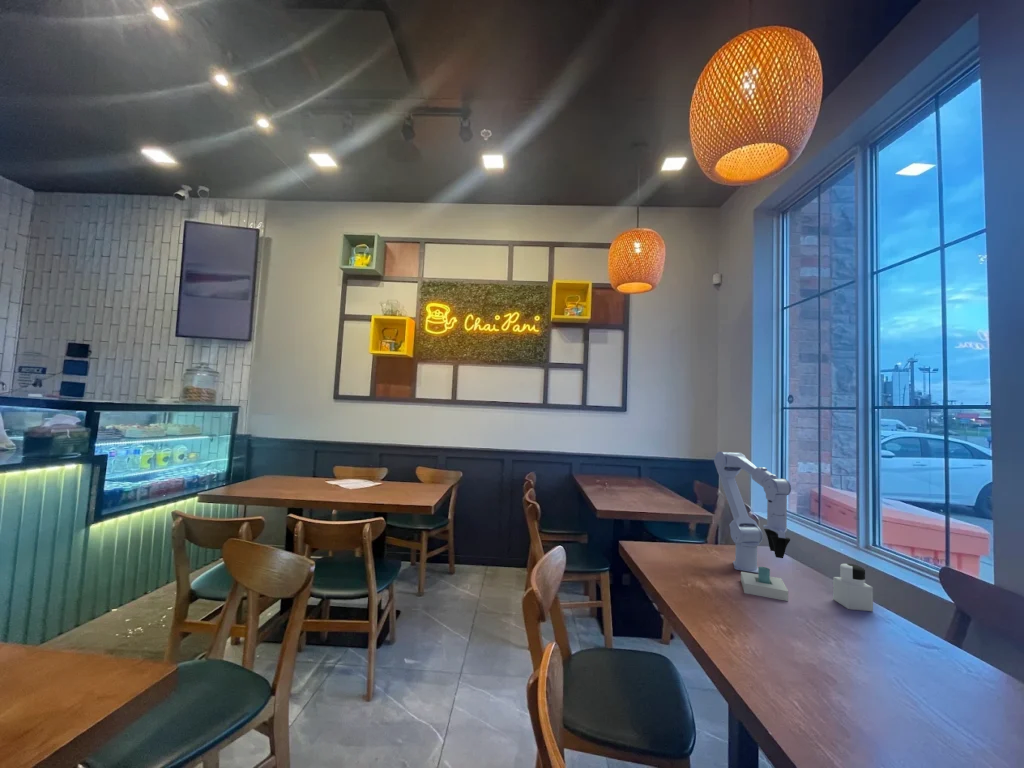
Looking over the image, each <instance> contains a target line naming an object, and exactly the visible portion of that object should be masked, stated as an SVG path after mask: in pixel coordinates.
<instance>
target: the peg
mask: <svg viewBox="0 0 1024 768" xmlns="http://www.w3.org/2000/svg"><path fill="white" fill-rule="evenodd" d="M757 567H758V573H757V574H758V582H760V583H766V584H770V577H771V575H770V574H771V571H770V570H771V569H770V568H768V567H766V566H757Z"/></svg>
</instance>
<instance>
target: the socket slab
mask: <svg viewBox="0 0 1024 768" xmlns="http://www.w3.org/2000/svg"><path fill="white" fill-rule="evenodd" d="M740 582H741V586H742V589H743V593H744V594H748V595H752V596H758V597H764V598H769V599H773V600H779V601H786V602H789V589H788V588H787V586H786V585H785V582H784V581H783V579H782V578H781V577H776V576H775V577H774V576H770V584H766V583H760V582H758V573H754V572H748V571H741V572H740Z"/></svg>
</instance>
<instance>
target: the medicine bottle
mask: <svg viewBox="0 0 1024 768" xmlns="http://www.w3.org/2000/svg"><path fill="white" fill-rule="evenodd" d="M839 570H840V572H839V576H833V577H832V580H833V581H832V583H833V584H832V585H833V587H832V589H833V591H832V593H833V595H832V596H833V597H832V598H833V601H835V602H837V603H838V604H839V605H841V606H843V607H844V608H845V609H847V610H854V611H865V612H874V587H873V586H872V585H869V584H867V583H866V569H864V568H863V567H862V566H860V565H858V564H857V565H856V564H854V563H848V562H847V563H841V564H840V565H839Z"/></svg>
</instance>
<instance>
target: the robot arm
mask: <svg viewBox="0 0 1024 768" xmlns="http://www.w3.org/2000/svg"><path fill="white" fill-rule="evenodd" d="M713 463H714V465H715V468H716V471H717V474H718V475H719V477H718V478H719V479H720V482H721V486H722V489H723V491H724V494H725V498H726V500H727V503H728V506H729V509H730V513H731V515H732V518H733V520H731V522H730V523H729V524H728V525H729V531H730V537H731V539H732V541H733V543H734V544H735V558H734V559H735V560H732V563H733V568H734V570H736V571H737V570H738V571H741V572H747V573H753V574H758V567H759V566H758V547H759V546H760V544H761V543H762V542H763V540H764V539H763V538H764V534H763V531H762V530H761V528H760V526H759V525H758V523H757V521H756V520H755V519H753V518H751V517H750V516H749V514H748V510H747V508H746V507H747V506H746V505H745V502H744V500H743V496H742V494H741V491H740V488H739V486H738V483H737V480H736V476H738V475H739V474H740V473H741V471H744V472H746V473H748V474H750V476H751V479H752V480H753V481H754V482H755V483H757V484H758V485H760V486H761V487H762V488H763V491H764V493H765V499H766V500H767V503H766V504H767V505H766V506H767V509H766V510H767V511H766V512H767V513H766V514H767V515H766V517H767V518H766V519H767V520H766V524H763V526H762V527H763V528H764V529H763V530H764V532H765V534H766V535H765V536H766V538H767V541H768V547H769V550H770V551H771V552H774V557H775V558H779V559H783V558H784V557H785V552H786V549H787V547H788V545H789V543H790V541H791V538H790V537H786V533H787V532H788V528H787V526H788V525H787V518H788V515H787V513H788V512H787V511H788V509H787V508H788V506H787V505H788V502H787V501H788V499H787V498H788V495H790V494H791V492H792V485H791V483H790V481H788V480H787V479H786V478H783V477H782V478H780V477H778V476H777V475H776V474H773V473H772V472H770V471H769V470H768V468H767V467H762V466H758V467H757V466H756V465H755V464H754V463H753V462H751V461H750V460H749V459H748V458H747V457H746V455H745V454H743V453H742V452H739V451H737V452H733V451H732V452H729V451H717V452H716V454H715V456H714V459H713Z"/></svg>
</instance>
